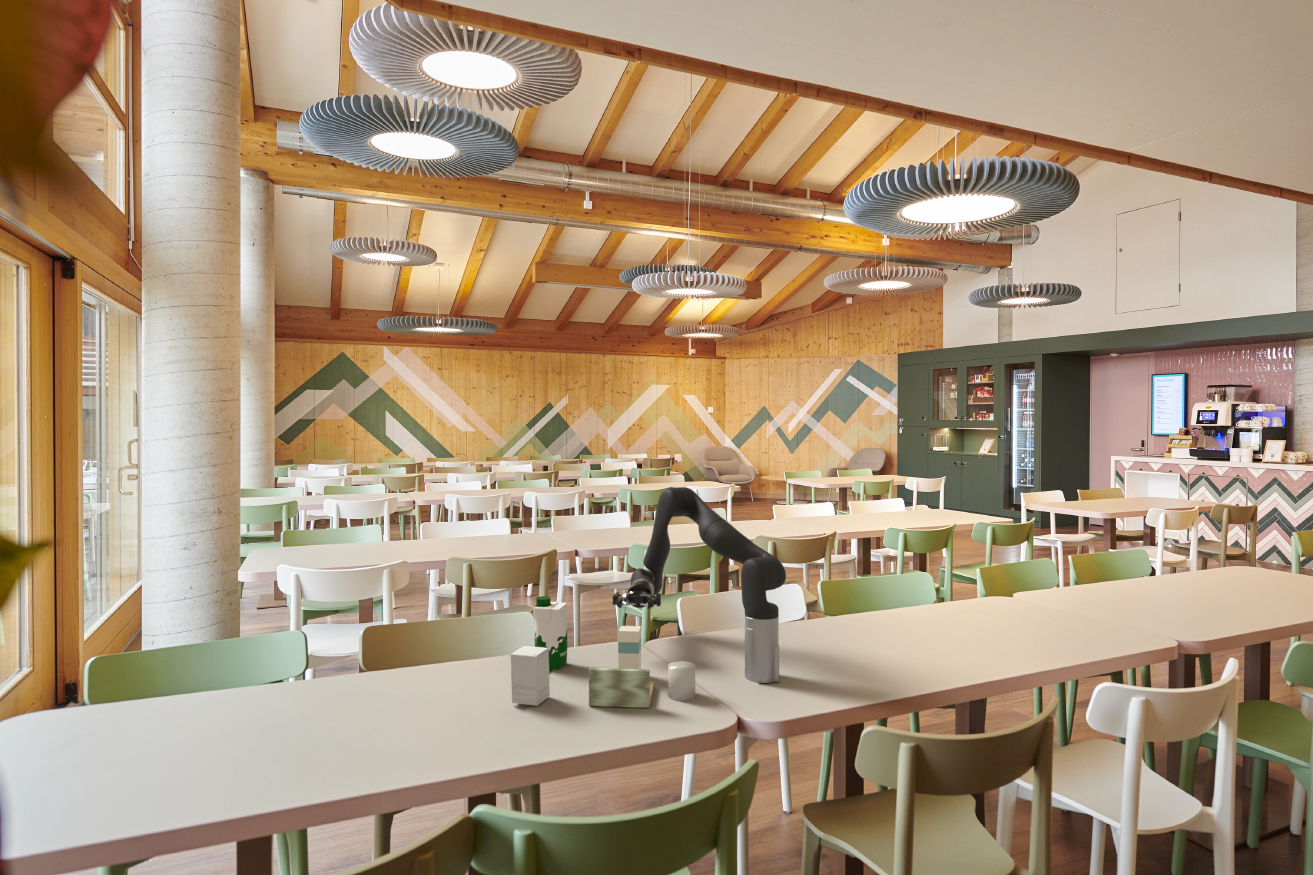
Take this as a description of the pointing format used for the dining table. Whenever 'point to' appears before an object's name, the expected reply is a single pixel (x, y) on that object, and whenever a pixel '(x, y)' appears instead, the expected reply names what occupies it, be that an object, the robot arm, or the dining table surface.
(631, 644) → the oat carton
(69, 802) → the dining table surface
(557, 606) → the milk carton
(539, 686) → the supplement box
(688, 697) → the white tapered tumbler
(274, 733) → the dining table surface
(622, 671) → the display bay
